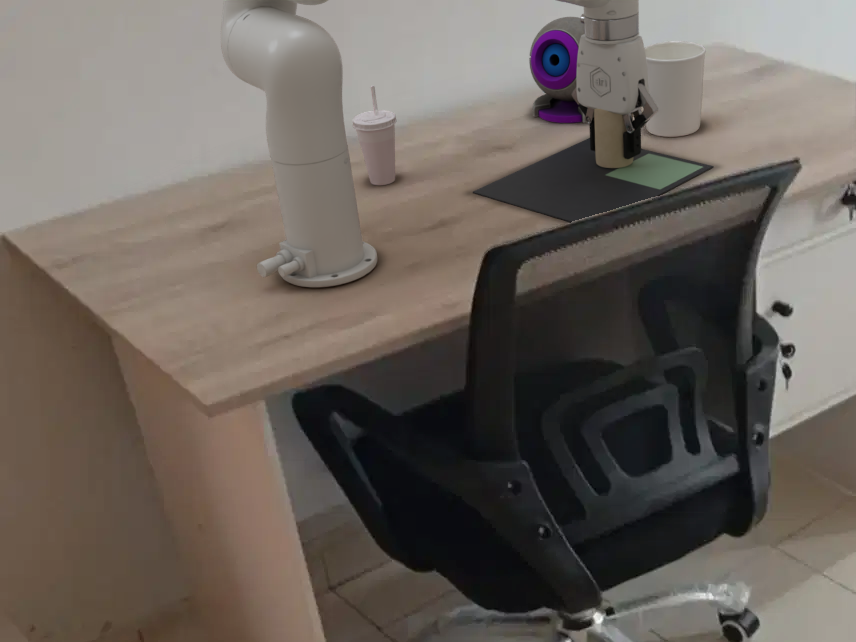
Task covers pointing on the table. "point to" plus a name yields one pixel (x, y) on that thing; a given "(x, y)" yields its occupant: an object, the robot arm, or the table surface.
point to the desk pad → (589, 182)
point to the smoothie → (377, 142)
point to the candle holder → (675, 87)
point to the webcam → (557, 70)
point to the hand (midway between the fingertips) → (615, 151)
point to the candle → (610, 139)
